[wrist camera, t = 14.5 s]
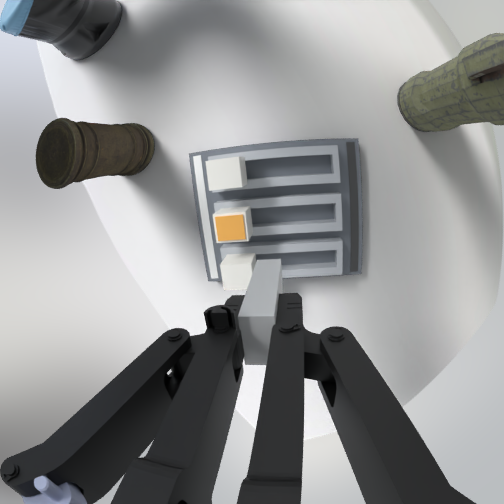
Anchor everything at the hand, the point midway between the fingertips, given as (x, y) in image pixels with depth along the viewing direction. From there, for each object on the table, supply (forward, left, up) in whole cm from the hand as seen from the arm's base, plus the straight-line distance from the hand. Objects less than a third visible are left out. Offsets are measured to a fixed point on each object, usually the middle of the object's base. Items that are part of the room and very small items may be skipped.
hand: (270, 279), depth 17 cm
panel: (0, 0, -24) cm, 24 cm away
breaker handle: (0, -6, -22) cm, 23 cm away
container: (-13, -23, -24) cm, 36 cm away
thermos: (-16, +24, -24) cm, 37 cm away
